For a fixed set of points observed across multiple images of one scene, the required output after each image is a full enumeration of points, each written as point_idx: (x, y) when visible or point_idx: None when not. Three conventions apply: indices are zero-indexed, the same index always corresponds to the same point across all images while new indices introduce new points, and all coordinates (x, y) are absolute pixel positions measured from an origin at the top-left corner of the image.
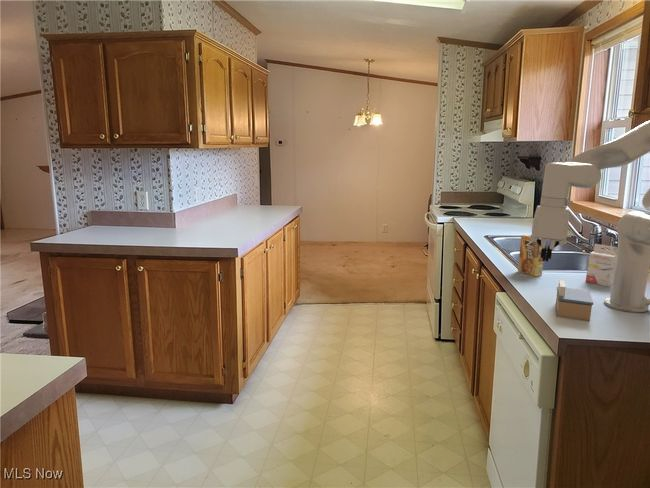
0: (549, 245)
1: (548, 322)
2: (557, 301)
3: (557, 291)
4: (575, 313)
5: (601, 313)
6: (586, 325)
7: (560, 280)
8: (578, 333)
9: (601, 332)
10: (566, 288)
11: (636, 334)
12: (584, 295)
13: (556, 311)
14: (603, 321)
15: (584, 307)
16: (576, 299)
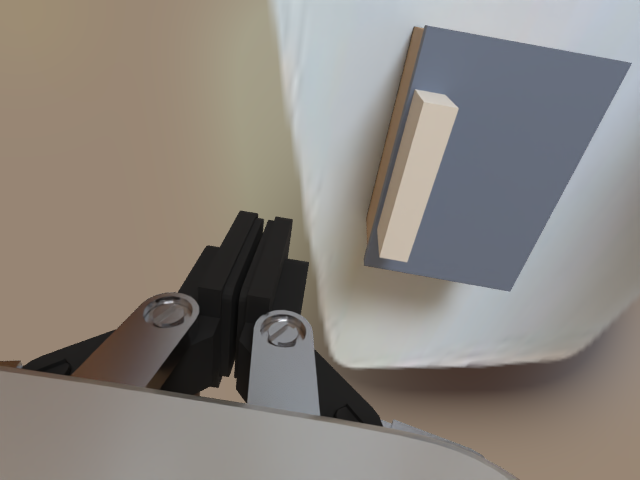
0: (250, 363)
1: (320, 278)
2: (388, 154)
3: (400, 121)
4: None
5: (607, 115)
6: None
7: (428, 114)
8: (392, 340)
9: (472, 322)
10: (480, 56)
11: (590, 316)
12: (528, 188)
13: (381, 157)
14: None
15: None
16: (446, 265)
